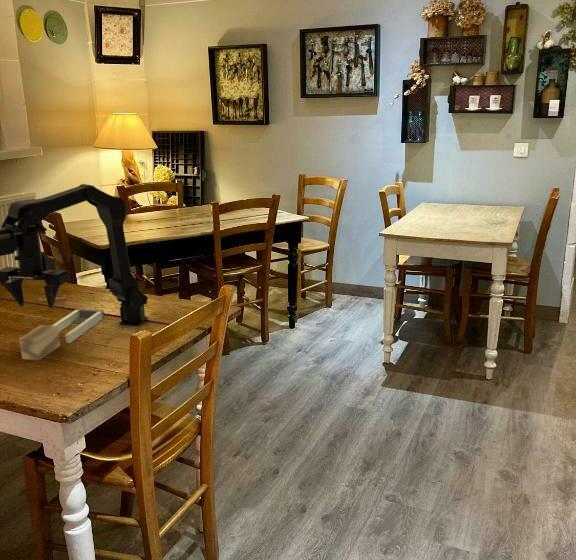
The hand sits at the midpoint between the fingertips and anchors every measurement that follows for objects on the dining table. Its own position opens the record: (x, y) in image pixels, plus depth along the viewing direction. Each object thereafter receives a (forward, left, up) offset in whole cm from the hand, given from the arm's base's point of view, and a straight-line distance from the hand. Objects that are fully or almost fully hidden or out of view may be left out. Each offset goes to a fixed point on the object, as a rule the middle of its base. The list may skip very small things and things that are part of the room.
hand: (36, 306), depth 156 cm
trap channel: (0, -16, -13) cm, 21 cm away
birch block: (0, 0, -13) cm, 13 cm away
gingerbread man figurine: (+21, -40, -13) cm, 47 cm away
